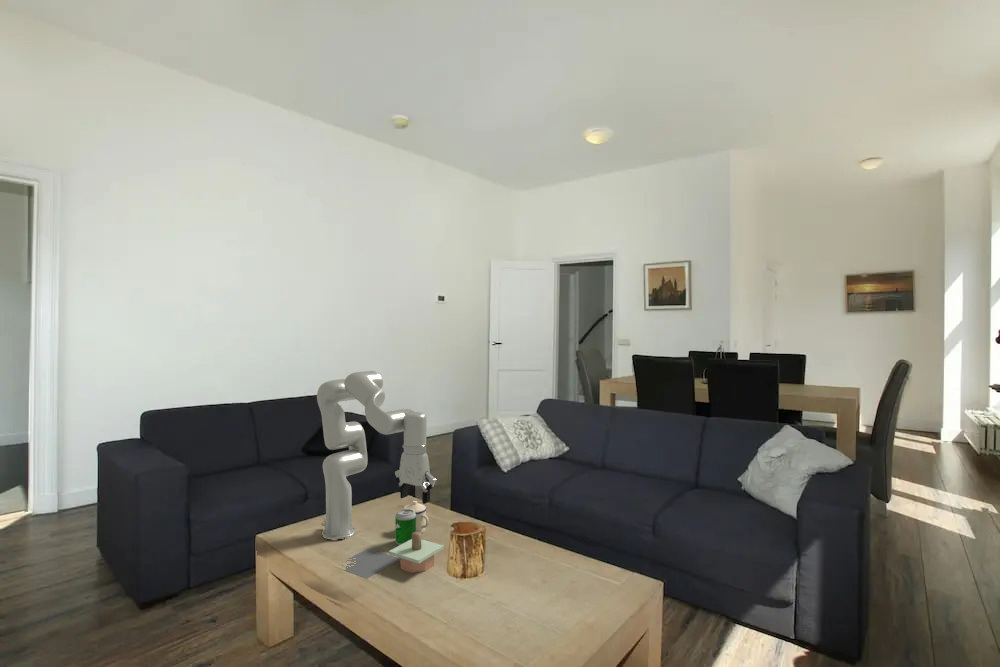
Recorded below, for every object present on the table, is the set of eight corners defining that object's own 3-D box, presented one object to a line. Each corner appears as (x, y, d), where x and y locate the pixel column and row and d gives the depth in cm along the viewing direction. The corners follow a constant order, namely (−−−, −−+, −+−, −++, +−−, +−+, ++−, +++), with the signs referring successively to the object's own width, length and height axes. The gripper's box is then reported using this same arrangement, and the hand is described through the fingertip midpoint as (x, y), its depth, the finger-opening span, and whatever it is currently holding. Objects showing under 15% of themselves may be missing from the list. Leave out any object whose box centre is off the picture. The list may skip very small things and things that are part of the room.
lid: (388, 554, 175) (388, 536, 175) (414, 540, 186) (414, 523, 186) (418, 563, 168) (418, 545, 168) (443, 548, 179) (443, 531, 179)
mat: (333, 567, 175) (333, 566, 175) (368, 550, 189) (368, 548, 189) (367, 580, 167) (367, 578, 167) (401, 560, 181) (401, 559, 181)
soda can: (418, 540, 198) (418, 508, 197) (413, 548, 190) (413, 516, 190) (398, 539, 198) (398, 508, 198) (392, 548, 191) (392, 515, 190)
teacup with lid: (398, 531, 205) (397, 502, 205) (414, 524, 213) (414, 495, 212) (420, 539, 198) (419, 508, 198) (436, 531, 206) (436, 502, 205)
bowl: (393, 568, 175) (393, 553, 175) (415, 555, 184) (415, 541, 184) (418, 577, 169) (418, 561, 169) (440, 563, 179) (440, 549, 179)
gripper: (388, 448, 178) (388, 498, 178) (427, 455, 168) (427, 508, 169) (403, 443, 184) (403, 492, 185) (442, 450, 175) (442, 501, 175)
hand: (415, 499), depth 177 cm, fingers open, 9 cm apart
